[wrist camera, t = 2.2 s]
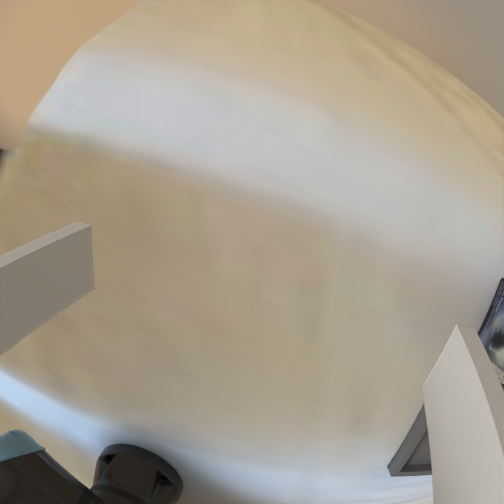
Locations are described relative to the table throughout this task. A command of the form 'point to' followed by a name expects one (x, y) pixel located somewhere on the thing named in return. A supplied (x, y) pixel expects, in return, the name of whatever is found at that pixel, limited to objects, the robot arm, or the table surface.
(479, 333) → the small box
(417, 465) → the holder tray
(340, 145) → the table surface
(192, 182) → the table surface
